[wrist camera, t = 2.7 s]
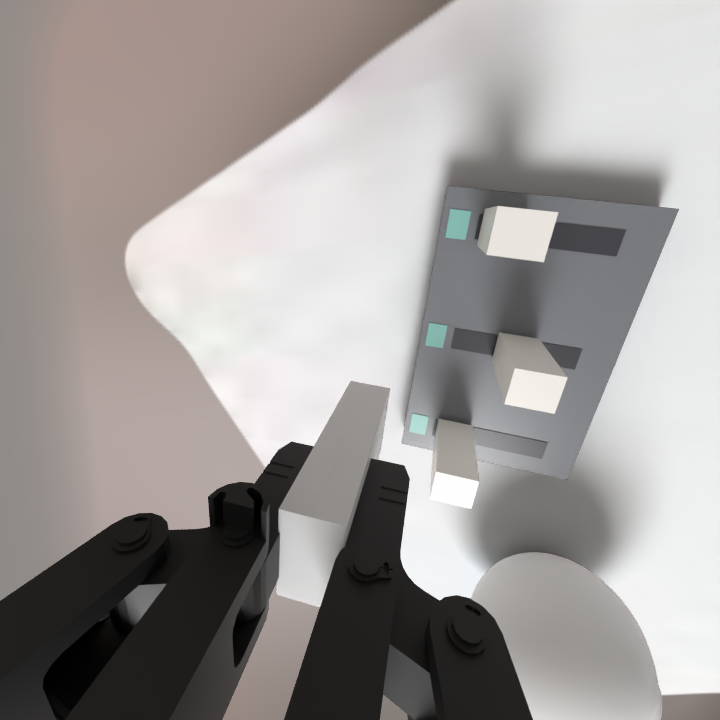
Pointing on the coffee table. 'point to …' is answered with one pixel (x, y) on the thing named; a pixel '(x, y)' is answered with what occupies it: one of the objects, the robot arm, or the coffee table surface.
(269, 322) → the coffee table surface
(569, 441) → the board
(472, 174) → the coffee table surface
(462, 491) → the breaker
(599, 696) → the decorative ball
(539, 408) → the breaker
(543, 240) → the breaker
